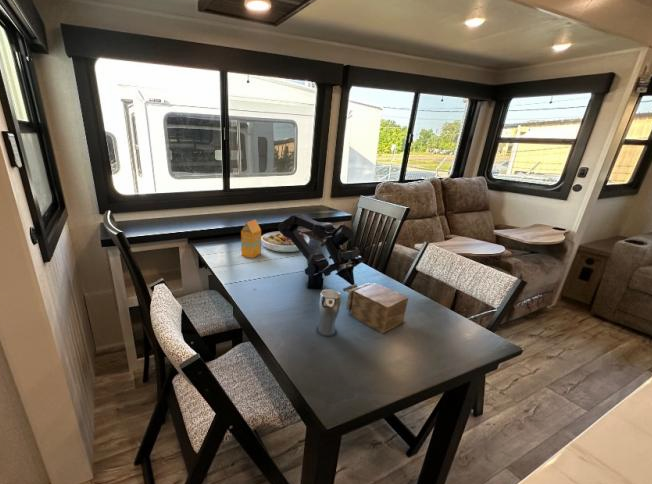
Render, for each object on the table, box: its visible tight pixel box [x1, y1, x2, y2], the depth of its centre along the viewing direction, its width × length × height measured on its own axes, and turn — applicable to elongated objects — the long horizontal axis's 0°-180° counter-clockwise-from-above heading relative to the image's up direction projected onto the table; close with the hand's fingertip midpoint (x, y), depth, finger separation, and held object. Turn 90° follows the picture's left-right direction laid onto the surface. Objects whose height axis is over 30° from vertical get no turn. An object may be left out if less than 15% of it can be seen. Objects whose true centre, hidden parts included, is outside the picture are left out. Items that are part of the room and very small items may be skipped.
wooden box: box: [350, 282, 409, 334], centre depth 116 cm, size 15×13×11 cm
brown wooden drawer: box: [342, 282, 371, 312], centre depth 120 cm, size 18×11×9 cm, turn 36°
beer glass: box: [317, 288, 341, 337], centre depth 107 cm, size 7×7×15 cm
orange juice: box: [240, 218, 262, 259], centre depth 175 cm, size 8×9×20 cm
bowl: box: [261, 230, 310, 253], centre depth 193 cm, size 30×30×8 cm
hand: (353, 284), depth 124 cm, fingers closed
